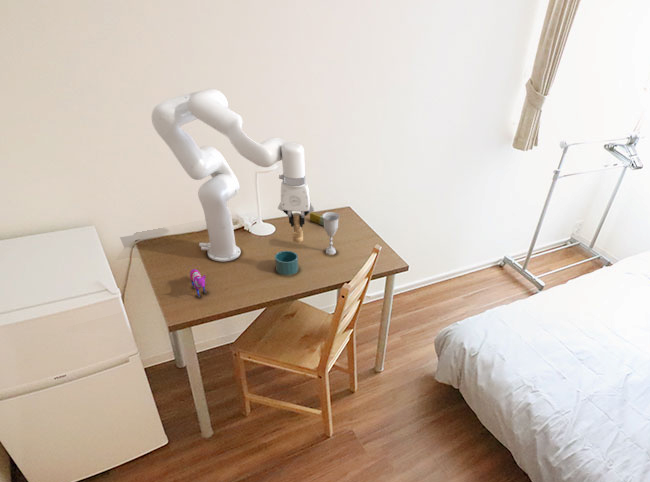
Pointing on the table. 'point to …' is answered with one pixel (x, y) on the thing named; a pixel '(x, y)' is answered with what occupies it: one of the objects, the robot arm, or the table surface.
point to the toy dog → (197, 280)
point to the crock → (286, 262)
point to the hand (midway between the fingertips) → (297, 224)
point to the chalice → (330, 228)
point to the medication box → (317, 218)
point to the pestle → (297, 229)
